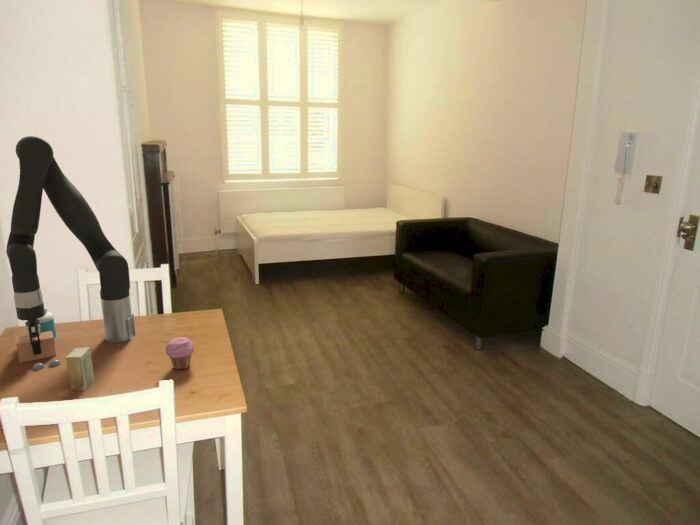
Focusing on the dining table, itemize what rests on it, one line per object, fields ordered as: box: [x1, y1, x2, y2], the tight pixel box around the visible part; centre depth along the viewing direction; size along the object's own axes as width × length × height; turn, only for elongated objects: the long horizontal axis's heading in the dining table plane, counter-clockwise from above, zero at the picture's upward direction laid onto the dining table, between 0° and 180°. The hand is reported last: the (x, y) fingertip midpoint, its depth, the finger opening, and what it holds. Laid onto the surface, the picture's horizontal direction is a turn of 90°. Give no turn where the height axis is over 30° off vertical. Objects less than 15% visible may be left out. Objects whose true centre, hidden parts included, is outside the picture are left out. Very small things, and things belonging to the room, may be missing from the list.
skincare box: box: [65, 347, 95, 391], centre depth 138 cm, size 6×4×12 cm
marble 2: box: [49, 359, 61, 368], centre depth 150 cm, size 3×3×3 cm
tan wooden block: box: [15, 331, 57, 364], centre depth 155 cm, size 10×6×8 cm, turn 124°
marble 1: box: [32, 362, 45, 371], centre depth 148 cm, size 3×3×3 cm
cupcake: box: [165, 336, 195, 370], centre depth 153 cm, size 9×9×10 cm
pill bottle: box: [37, 305, 57, 342], centre depth 165 cm, size 8×7×14 cm
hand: (37, 349), depth 155 cm, fingers open, 8 cm apart
